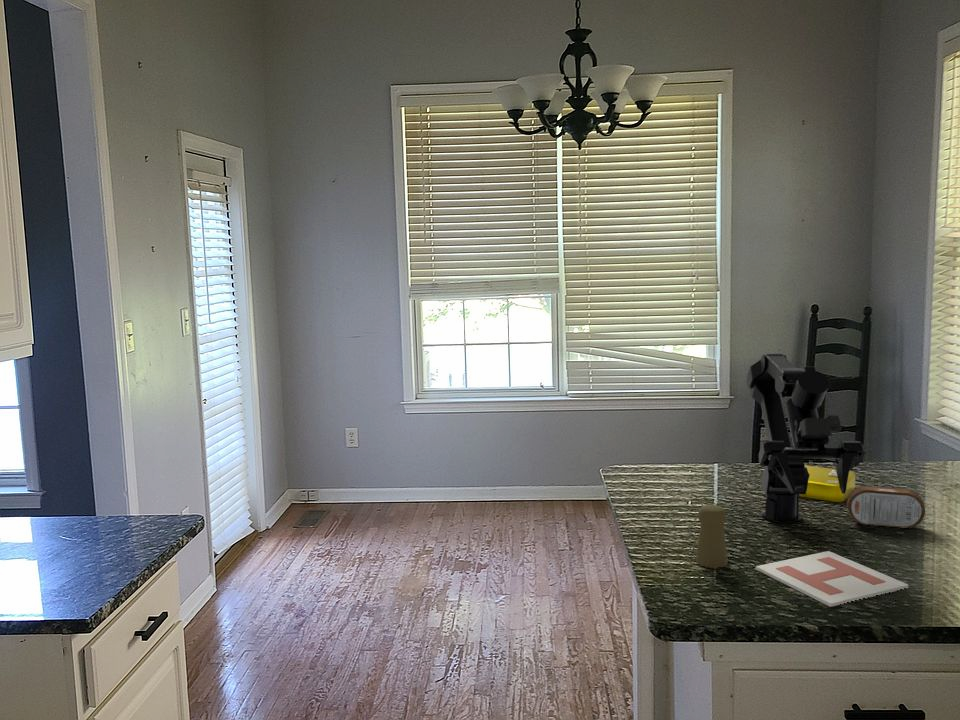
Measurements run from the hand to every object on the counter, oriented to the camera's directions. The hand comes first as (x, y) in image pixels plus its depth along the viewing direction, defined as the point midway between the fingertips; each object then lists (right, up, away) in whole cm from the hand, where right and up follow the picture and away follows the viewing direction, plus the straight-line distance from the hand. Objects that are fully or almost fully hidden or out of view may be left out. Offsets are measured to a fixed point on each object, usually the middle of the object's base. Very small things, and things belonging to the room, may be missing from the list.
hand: (818, 492), depth 155 cm
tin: (+23, -11, +21) cm, 33 cm away
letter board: (-1, -15, -6) cm, 16 cm away
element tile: (+19, -8, +47) cm, 52 cm away
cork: (-19, -14, +3) cm, 24 cm away
